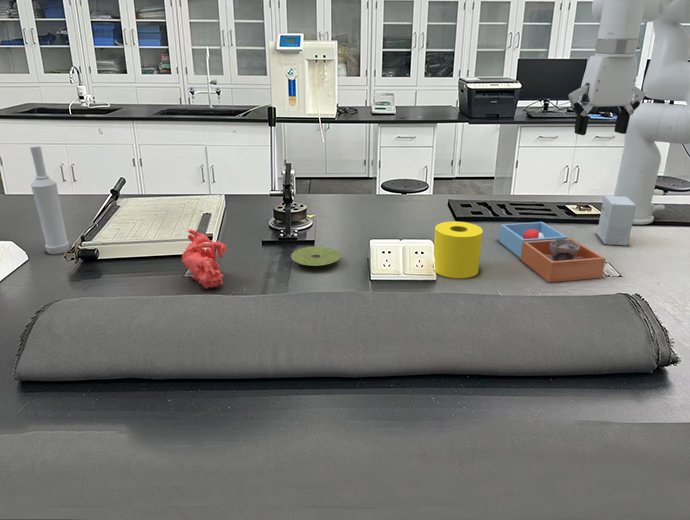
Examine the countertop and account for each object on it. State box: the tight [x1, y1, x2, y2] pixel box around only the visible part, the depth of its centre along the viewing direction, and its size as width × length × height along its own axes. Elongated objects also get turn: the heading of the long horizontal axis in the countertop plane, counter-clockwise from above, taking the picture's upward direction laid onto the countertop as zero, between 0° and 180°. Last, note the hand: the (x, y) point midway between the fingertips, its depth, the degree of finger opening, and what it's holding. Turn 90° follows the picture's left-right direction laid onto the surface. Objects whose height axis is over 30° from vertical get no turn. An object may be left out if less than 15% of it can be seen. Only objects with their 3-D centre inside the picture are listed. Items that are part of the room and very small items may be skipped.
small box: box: [596, 195, 636, 246], centre depth 133 cm, size 8×6×10 cm
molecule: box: [523, 229, 544, 239], centre depth 129 cm, size 5×5×4 cm
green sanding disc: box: [290, 246, 342, 267], centre depth 121 cm, size 11×11×2 cm
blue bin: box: [498, 221, 569, 259], centre depth 129 cm, size 11×11×4 cm
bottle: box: [29, 145, 71, 255], centre depth 123 cm, size 5×5×25 cm
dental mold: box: [545, 239, 583, 261], centre depth 118 cm, size 8×7×5 cm
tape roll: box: [433, 220, 484, 279], centre depth 116 cm, size 10×10×9 cm
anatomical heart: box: [181, 228, 228, 289], centre depth 110 cm, size 9×12×12 cm
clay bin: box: [520, 237, 607, 283], centre depth 118 cm, size 12×12×4 cm
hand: (600, 133), depth 115 cm, fingers open, 9 cm apart
